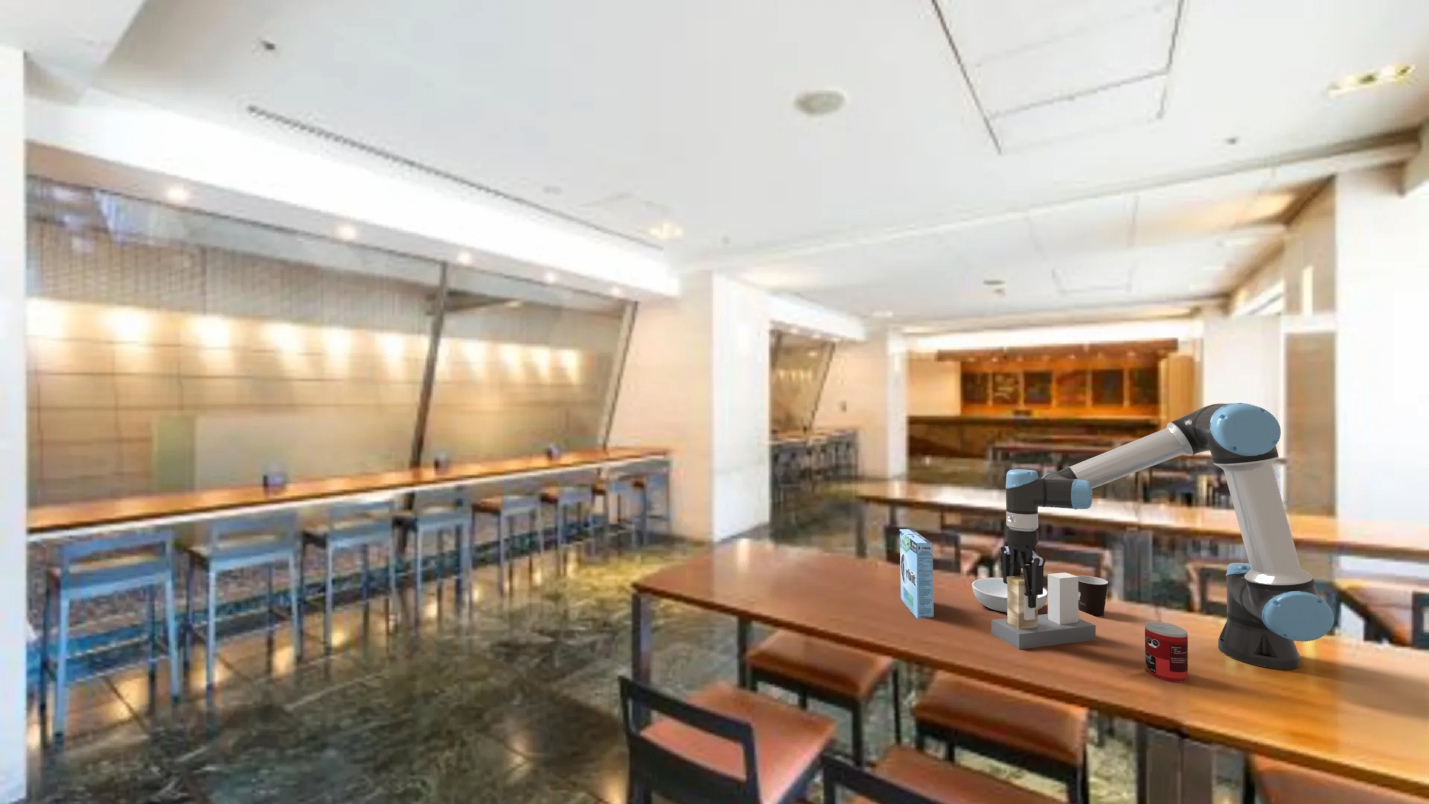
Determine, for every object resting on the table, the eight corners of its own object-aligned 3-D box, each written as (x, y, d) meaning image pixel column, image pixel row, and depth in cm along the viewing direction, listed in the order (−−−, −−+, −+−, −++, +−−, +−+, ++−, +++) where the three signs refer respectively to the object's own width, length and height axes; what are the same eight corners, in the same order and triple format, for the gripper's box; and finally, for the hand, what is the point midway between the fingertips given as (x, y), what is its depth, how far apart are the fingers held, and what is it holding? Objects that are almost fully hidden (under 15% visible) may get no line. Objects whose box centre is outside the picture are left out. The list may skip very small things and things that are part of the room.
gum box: (933, 621, 171) (933, 543, 171) (916, 620, 171) (916, 543, 171) (915, 598, 190) (914, 528, 190) (899, 598, 191) (899, 528, 191)
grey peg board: (1095, 644, 154) (1095, 625, 154) (1019, 653, 149) (1019, 634, 149) (1064, 629, 164) (1064, 612, 164) (991, 638, 158) (991, 620, 158)
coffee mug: (1107, 620, 171) (1107, 586, 171) (1073, 613, 176) (1072, 580, 176) (1109, 609, 181) (1109, 576, 181) (1077, 603, 186) (1077, 571, 186)
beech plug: (1038, 640, 153) (1038, 579, 153) (1018, 642, 152) (1018, 581, 152) (1026, 634, 157) (1026, 574, 158) (1006, 636, 156) (1006, 576, 156)
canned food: (1146, 664, 143) (1145, 619, 143) (1188, 673, 137) (1187, 627, 138) (1143, 675, 137) (1143, 628, 137) (1187, 686, 132) (1187, 637, 132)
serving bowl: (976, 594, 195) (976, 573, 195) (1048, 605, 184) (1048, 583, 184) (967, 613, 177) (967, 591, 177) (1046, 627, 166) (1046, 603, 166)
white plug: (1078, 636, 157) (1078, 576, 157) (1059, 638, 155) (1059, 578, 155) (1066, 630, 160) (1065, 572, 161) (1047, 632, 159) (1047, 574, 159)
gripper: (987, 522, 162) (988, 606, 162) (1035, 536, 146) (1035, 629, 146) (1010, 521, 164) (1010, 604, 164) (1059, 534, 147) (1060, 626, 147)
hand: (1022, 615), depth 155 cm, fingers closed on beech plug, 4 cm apart
